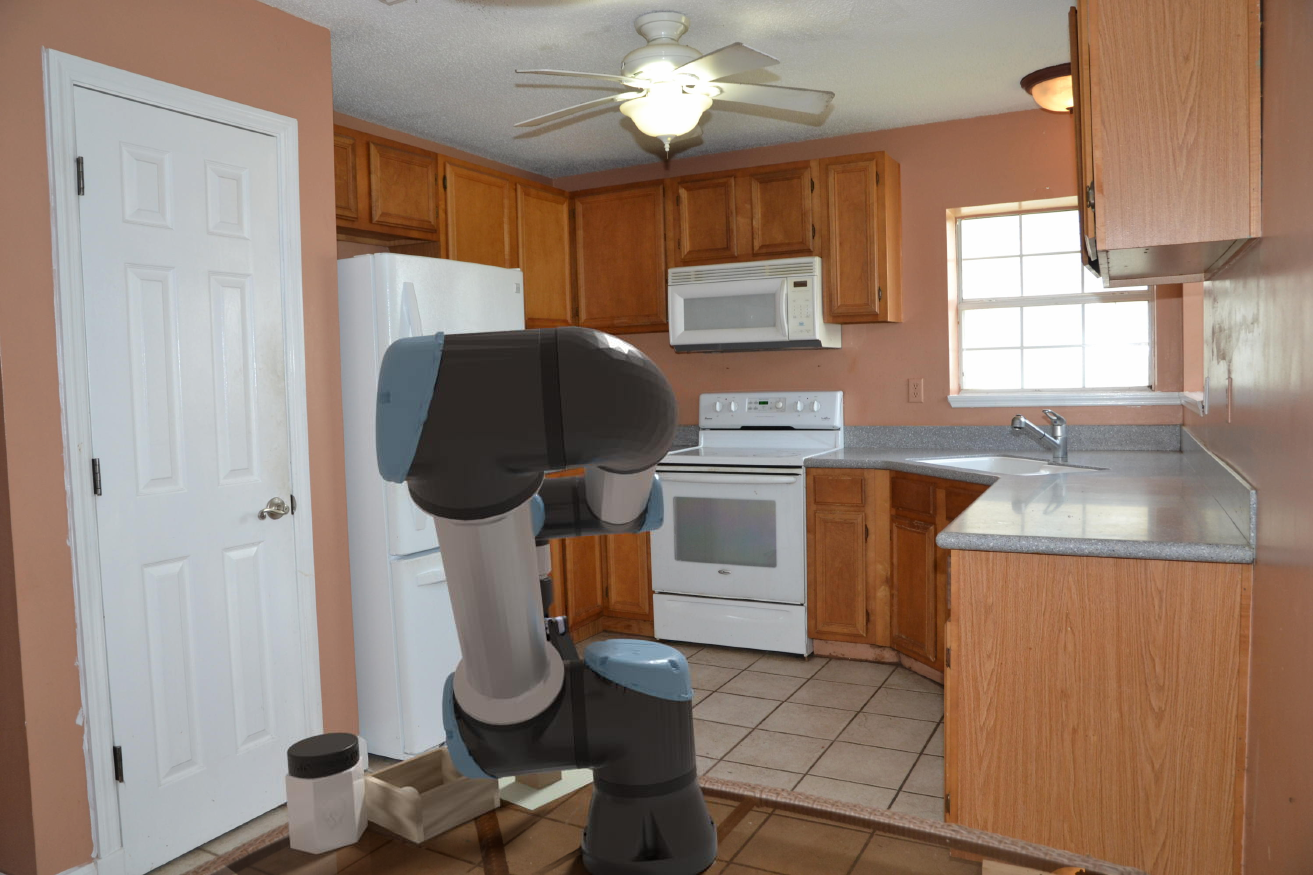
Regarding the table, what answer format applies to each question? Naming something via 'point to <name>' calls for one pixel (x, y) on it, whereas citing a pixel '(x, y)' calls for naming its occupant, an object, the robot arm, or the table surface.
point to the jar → (325, 792)
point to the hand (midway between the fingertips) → (534, 735)
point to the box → (427, 796)
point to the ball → (411, 790)
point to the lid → (542, 786)
